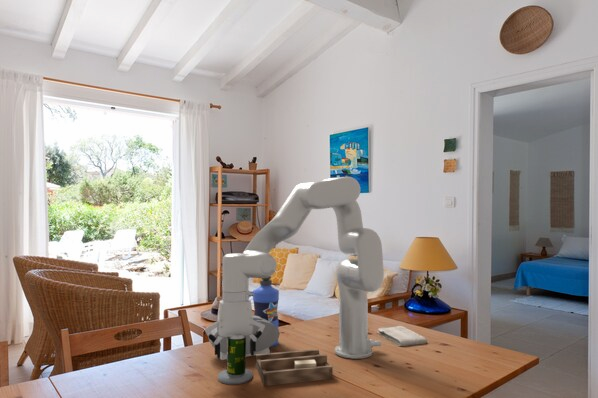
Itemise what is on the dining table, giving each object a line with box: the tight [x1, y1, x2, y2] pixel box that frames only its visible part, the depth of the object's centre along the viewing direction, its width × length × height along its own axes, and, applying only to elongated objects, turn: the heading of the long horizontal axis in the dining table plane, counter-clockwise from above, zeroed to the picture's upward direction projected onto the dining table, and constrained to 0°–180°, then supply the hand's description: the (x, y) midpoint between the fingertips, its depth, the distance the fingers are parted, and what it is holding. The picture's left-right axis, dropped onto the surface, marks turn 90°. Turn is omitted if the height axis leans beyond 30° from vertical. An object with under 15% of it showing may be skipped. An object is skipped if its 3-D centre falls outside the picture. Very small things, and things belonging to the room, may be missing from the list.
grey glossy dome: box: [217, 368, 254, 385], centre depth 126 cm, size 10×10×1 cm
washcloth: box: [376, 325, 428, 347], centre depth 163 cm, size 12×18×3 cm, turn 20°
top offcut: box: [294, 360, 316, 369], centre depth 126 cm, size 6×3×2 cm, turn 97°
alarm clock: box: [207, 314, 281, 361], centre depth 145 cm, size 23×6×13 cm, turn 113°
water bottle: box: [252, 275, 280, 348], centre depth 157 cm, size 9×9×25 cm
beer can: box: [226, 335, 247, 378], centre depth 126 cm, size 5×5×12 cm
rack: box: [255, 348, 333, 387], centre depth 129 cm, size 20×14×5 cm
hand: (235, 355), depth 126 cm, fingers open, 9 cm apart
